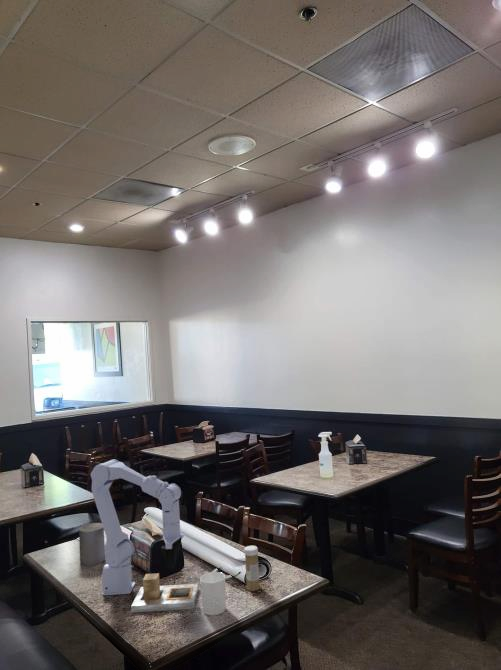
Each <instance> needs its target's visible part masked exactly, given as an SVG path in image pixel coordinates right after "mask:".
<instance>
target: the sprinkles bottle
mask: <svg viewBox="0 0 501 670" xmlns="http://www.w3.org/2000/svg"><path fill="white" fill-rule="evenodd" d="M243 551H244V552H243V553H244V557H245V559H244V560H245V578H246V579H245V580H246V590H247V591H250V592H254V591H257V590H259V589H260V588H261V585H260V570H259V568H260V567H259V557H258V555H259V554H258V553H259V549H258V547H257V546H256V545H247V546H246V547H244V549H243Z"/></svg>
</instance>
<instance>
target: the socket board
mask: <svg viewBox="0 0 501 670" xmlns="http://www.w3.org/2000/svg"><path fill="white" fill-rule="evenodd" d="M198 594H199V583H186V584H172V585H171V584H169V585H167V584H166V585H160V599H158V600H144V593H143V586H141V587H139V590H138V592H137V594H136V595H135V598H134V600H133V602H132V603H131V605H130V606H131V608H130V611H131V612H130V613H133V614H134V613H146V612H149V613H150V612H161V611H162V612H166V611H179V610H180V611H182V610H194V609H195V605H196V601H197V597H198ZM174 596H179V597H174ZM181 596H183V597H181ZM184 596H185V597H184Z"/></svg>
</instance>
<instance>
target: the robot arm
mask: <svg viewBox="0 0 501 670" xmlns="http://www.w3.org/2000/svg"><path fill="white" fill-rule="evenodd" d="M90 477H91V493H92V496H93V499H94V502H95V506H96V508H97V511H98V515H99V518H100V521H101V522H100V523H102V525H103V528H104V535H105V538H106V541H105V546H104V549H105V560H104V561H105V564H104V565H103V568H102V575H101V579H102V594H101V595H102V596H111V595H113V596H114V595H115V596H116V595H129V594H131V593H132V591H133V589H134V588H135V585H136V582H135V581H133V577H132V576H133V575H132V555H133V554H134V553H135V546H134V544H133V542H132V541H131V540H130V538H129V535H128V534H126V533H125V532H123V529H122V527H121V523H120V520H119V518H118V517H119V516H118V514H117V510H116V508H115V505H114V502H113V498H112V495H111V492H110V487H111V486H112V485H113V482H114V481H115V480H118V479H119V480H120V479H122V480H125V481H127V482H130V483H132V484H135V485H136V486H140V487H141V491H142V492H144V493H145V494H148V495H149V496H152V497H154V498H156V499H158V502H159V503H160V504H161V511H162V532H163V533H162V539H163V541H164V544H165V545H161V547H160V548H161V549H160V550H161V552H162V554H163V556H164V558H165V561H166V565H167V568H168V569H175V567H176V560H177V559H178V558H179V554H180V547H181V542H182V539H183V538H184V537H185V534H184V533H183V532H182V533H181V520H180V519H181V518H180V500H179V499H180V498H181V495H182V490H181V488H180V486H179V485H178V484H176V483H170V484H169V482H168V481H163V480H162V479H159V478H157V475H148V476H145V475H143V474H142V473H139V472H137V471H136V470H134V469H132V468H130V467H129V466H127V465H125V463H124V462H122V461H119V460H118V459H110V460H108V461H105V462H103V463H101V464H97V465H95V466H94V467H93V469H92V470H91V473H90Z"/></svg>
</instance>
